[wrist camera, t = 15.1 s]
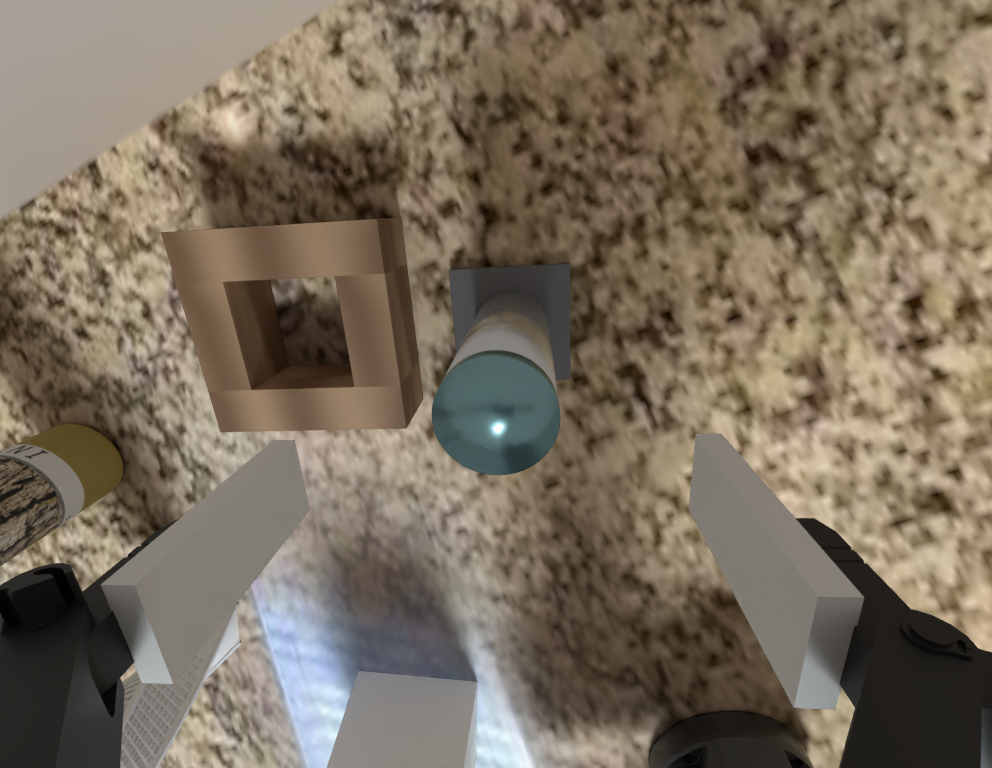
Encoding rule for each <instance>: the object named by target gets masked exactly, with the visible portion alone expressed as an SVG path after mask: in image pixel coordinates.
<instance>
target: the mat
mask: <svg viewBox="0 0 992 768" xmlns="http://www.w3.org/2000/svg"><path fill="white" fill-rule="evenodd" d="M449 275H450V286H451V297H452V308H453V319H454V329H455V340H456V351H457V352H458V350H459V348H460V346H461V344H462V343H463V341H464V339H465V337H466V335H467V333H468V331H469V329H470V327H471V325H472V323H473V322H474V320H475V318H476V316H477V314H478V312H479V310H480V308H481V307H482V305H483V304H484V303H485V302H486V301H487V300H488V299H489V298H490V297H492V296H493V295H495V294H497V293H500V292H504V291H520V292H523V293H526V294H528V295H530V296H532V297H533V298H535V299H536V300H537V301H538V302H539V303H540V304H541V306H542V307H543V309H544V311H545V313H546V316H547V320H548V327H549V334H550V341H551V349H552V356H553V364H554V371H555V379H556V380H558V379H570V263H562V264H542V265H523V266H503V267H484V268H464V269H450V270H449Z"/></svg>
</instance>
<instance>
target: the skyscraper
mask: <svg viewBox="0 0 992 768" xmlns="http://www.w3.org/2000/svg"><path fill="white" fill-rule="evenodd" d="M238 606H239V604H236V605H235V606H234V607H233V609H232V610H231V611H230V612H229V614H228V615H227V616H226V618H225V619H224V620H223V621H222V623H221V624H220V625H219V626H218V628H217V629H216V630H215V632H214V633H213V634H212V635H211V637H210V638H209V639H208V641H207V642H206V643H205V644H204V646H203V647H202V648H201V649H200V651H199V652H198V653H197V655H196V656H195V657H194V658H193V660H192V661H191V662H190V663H189V665H188V666H187V667H186V669H185V670H184V671H183V672H182V674H181V675H180V676H179V678H178V679H177V680H176V681H175V683H174V684H158V683H142V682H141V680H140V677H139V675H138V673H137V671H136V672H135V673H134V674H132V675H131V676H130V677H128V678H127V679H126V680H125V681H123V682H122V683H123V687H124V690H125V693H124V710H123V727H122V743H121V760H120V768H158V767H159V765H160V763H161V761H162V760H163V758H164V756H165V755H166V753H167V751H168V749H169V748H170V746H171V744H172V742H173V740H174V738H175V736H176V735H177V733H178V731H179V729H180V727H181V725H182V724H183V722H184V720H185V718H186V716H187V714H188V712H189V710H190V708H191V706H192V704H193V702H194V700H195V698H196V696H197V694H198V692H199V690H200V688H201V686H202V684H203V682H204V680H205V679H206V678H207V677H208V676H209V675H210V674H211V673H212V672H213V671H214V670H215V669H216V668H217V667H218V666H219V665H220V664H222V663H223V662H224V661H225V660H226V659H227V658H228V657H229V656H230V655H231V654H232V653H233V652H234V651H235V650H236V649H237V648H238V647H239V646H240V645H241V644H240V639H239V627H238V615H237V608H238Z"/></svg>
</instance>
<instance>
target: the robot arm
mask: <svg viewBox="0 0 992 768" xmlns="http://www.w3.org/2000/svg"><path fill="white" fill-rule="evenodd" d="M309 510H310V508H309V503H308V498H307V494H306V489H305V485H304V480H303V476H302V471H301V467H300V462H299V458H298V453H297V449H296V444H295V440H276V441H272V442H271V443H270V444H268V445H267V446H266V447H265V448H264V449H262V450H261V451H260V452H259V453H258V454H256V455H255V456H254V457H253V458H252V459H251V460H249V461H248V462H247V463H246V464H245V465H243V466H242V467H241V468H240V469H239V470H237V471H236V472H235V473H234V474H233V475H231V476H230V477H229V478H228V479H227V480H225V481H224V482H223V483H222V484H221V485H219V486H218V487H217V488H216V489H215V490H213V491H212V492H211V493H210V494H209V495H207V496H206V497H205V498H204V499H203V500H201V501H200V502H199V503H198V504H197V505H195V506H194V507H193V508H192V509H191V510H189V511H188V512H187V513H186V514H185V515H183V516H182V517H181V518H180V519H177V520H176V521H174V522H172V523H170V524H168V525H167V526H165V527H163V528H161V529H159V530H158V531H156V532H155V533H154V534H153V535H151V536H150V537H149V538H148V539H147V540H145V541H144V542H143V543H142V544H141V546H138V547H137V548H135V549H134V550H133V551H132V552H131V553H129V554H128V557H127V558H123V559H122V560H121V561H120V562H118V563H117V564H116V565H115V566H113V567H112V568H111V569H110V570H109V571H107V572H106V573H105V574H104V575H102V576H101V577H100V578H99V579H98V580H96V581H95V582H94V583H93V584H91V585H90V586H89V587H88V588H87V589H85V590H84V591H83V592H82V590H81V588H80V586H79V584H78V581H77V579H76V577H75V575H74V572H73V570H72V568H71V566H70V565H67V564H64V563H57V564H49V565H45V566H41V567H37V568H34V569H32V570H29V571H27V572H24V573H22V574H19V575H18V576H16V577H14V578H12V579H10V580H8V581H7V582H5V583H3V584H2V585H0V768H120V760H121V743H122V727H123V710H124V693H125V690H124V687H123V683H122V681H121V679H120V677H121V676H122V675H123V674H124V673H125V672H126V671H127V669H128V668H129V667H130V666H131V665H132V664H133V663H134V666H135V668H136V670H137V673H138V675H139V677H140V680H141V682H142V683H158V684H174V683H175V681H176V680H177V679H178V678H179V676H180V675H181V674H182V672H183V671H184V670H185V669H186V667H187V666H188V665H189V663H190V662H191V661H192V660H193V658H194V657H195V656H196V655H197V653H198V652H199V651H200V649H201V648H202V647H203V646H204V644H205V643H206V642H207V641H208V639H209V638H210V637H211V635H212V634H213V633H214V632H215V630H216V629H217V628H218V626H219V625H220V624H221V623H222V621H223V620H224V619H225V618H226V616H227V615H228V614H229V612H230V611H231V610H232V609H233V607H234V606H235V605H236V603H237V602H238V601H239V600H240V598H241V597H242V596H243V595H244V593H245V592H246V591H247V589H248V588H249V587H250V586H251V584H252V583H253V582H254V580H255V579H256V578H257V577H258V575H259V574H260V573H261V572H262V570H263V569H264V568H265V566H266V565H267V564H268V563H269V561H270V560H271V559H272V557H273V556H274V555H275V554H276V552H277V551H278V550H279V549H280V547H281V546H282V545H283V543H284V542H285V541H286V540H287V538H288V537H289V536H290V535H291V533H292V532H293V531H294V529H295V528H296V527H297V526H298V524H299V523H300V522H301V520H302V519H303V518H304V517H305V515H306V514H307V513H308V512H309ZM689 511H690V513H691V515H692V517H693V518H694V520H695V522H696V524H697V526H698V528H699V530H700V532H701V534H702V535H703V537H704V539H705V541H706V543H707V545H708V547H709V549H710V551H711V552H712V554H713V556H714V558H715V560H716V562H717V564H718V566H719V568H720V569H721V571H722V573H723V575H724V577H725V579H726V581H727V583H728V585H729V586H730V588H731V590H732V592H733V594H734V596H735V598H736V600H737V602H738V603H739V605H740V607H741V609H742V611H743V613H744V615H745V617H746V619H747V620H748V622H749V624H750V626H751V628H752V630H753V632H754V634H755V636H756V637H757V639H758V641H759V643H760V645H761V647H762V649H763V651H764V653H765V654H766V656H767V658H768V660H769V662H770V664H771V666H772V668H773V670H774V671H775V673H776V675H777V677H778V679H779V681H780V683H781V685H782V687H783V688H784V690H785V692H786V694H787V696H788V698H789V700H790V702H791V704H792V705H793V707H794V708H809V709H836V705H837V701H838V697H839V693H840V690H841V687H842V688H843V690H844V691H845V693H846V694H847V696H848V697H849V699H850V700H851V702H852V704H853V705H854V707H855V711H854V714H853V718H852V722H851V725H850V729H849V732H848V736H847V740H846V743H845V748H844V752H843V755H842V759H841V763H840V766H839V768H992V652H988V651H984V650H981V649H978V648H977V646H976V645H975V644H974V643H973V642H972V641H971V640H970V639H969V638H968V636H966V635H965V634H963V633H962V632H961V631H959V630H958V629H956V628H955V627H954V626H952V625H951V624H949V623H947V622H945V621H943V620H941V619H939V618H937V617H934V616H932V615H929V614H926V613H923V612H920V611H916V610H911V609H910V608H909V607H908V606H907V605H906V604H905V603H904V602H903V601H902V600H901V599H900V598H899V596H898V595H897V594H896V593H895V592H894V591H893V590H892V589H891V588H890V587H889V586H888V585H887V584H886V583H885V582H884V581H883V580H882V579H881V578H880V577H879V576H878V575H877V574H876V573H875V572H874V571H873V570H872V569H871V567H870V566H869V565H868V564H864V560H863V559H862V558H861V557H860V556H859V555H858V554H857V553H856V552H855V551H854V550H851V547H850V546H849V545H848V544H847V543H846V542H845V541H844V540H843V538H842V537H841V536H840V535H839V534H838V533H837V532H836V531H834V530H832V529H831V528H829V527H827V526H826V525H824V524H823V523H821V522H819V521H818V520H816V519H814V518H795V517H794V516H793V515H792V514H791V513H790V512H789V510H788V509H787V508H786V507H785V506H784V505H783V504H782V502H781V501H780V500H779V499H778V498H777V497H776V496H775V494H774V493H773V492H772V491H771V490H770V489H769V488H768V486H767V485H766V484H765V483H764V482H763V481H762V480H761V478H760V477H759V476H758V475H757V474H756V473H755V472H754V470H753V469H752V468H751V467H750V466H749V465H748V463H747V462H746V461H745V460H744V459H743V458H742V457H741V455H740V454H739V453H738V452H737V451H736V450H735V449H734V447H733V446H732V445H731V444H730V443H729V442H728V441H727V439H726V438H725V437H724V436H723V435H722V434H696V438H695V448H694V459H693V470H692V480H691V491H690V501H689ZM649 768H814V767H813V765H812V763H811V761H810V759H809V757H808V755H807V753H806V751H805V749H804V747H803V745H802V743H801V741H800V740H799V739H798V737H797V736H796V735H795V734H794V733H793V732H792V731H791V730H789V729H788V728H787V727H785V726H784V725H782V724H780V723H778V722H776V721H774V720H771V719H769V718H766V717H763V716H759V715H755V714H749V713H741V712H720V713H712V714H706V715H701V716H697V717H694V718H691V719H688V720H686V721H683V722H681V723H679V724H677V725H675V726H674V727H672V728H671V729H669V730H668V731H666V732H665V733H664V734H663V735H662V736H661V737H660V738H659V739H658V740H657V742H656V743H655V744H654V746H653V748H652V750H651V753H650V757H649Z"/></svg>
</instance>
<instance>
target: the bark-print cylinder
mask: <svg viewBox="0 0 992 768" xmlns="http://www.w3.org/2000/svg"><path fill="white" fill-rule="evenodd" d="M122 475H123V462H122V458H121V456H120V454H119V452H118V450H117V449H116V447H115V446H114V445H113V443H112V442H111V441H110V440H109V439H108V438H106V437H105V436H104V435H103V434H101V433H100V432H98V431H96V430H94V429H92V428H90V427H87V426H83V425H77V424H63V425H59V426H56V427H53V428H51V429H49V430H46V431H44V432H42V433H40V434H38V435H36V436H33V437H31V438H29V439H27V440H25V441H22V442H20V443H18V444H16V445H14V446H11V447H8V448H6V449H4V450H2V451H0V566H1V565H3V564H4V563H6V562H7V561H9V560H10V559H12V558H13V557H15V556H16V555H18V554H19V553H21V552H22V551H24V550H25V549H27V548H28V547H30V546H31V545H33V544H34V543H36V542H37V541H38V540H40V539H41V538H43V537H44V536H46V535H47V534H49V533H50V532H52V531H53V530H55V529H56V528H58V527H59V526H61V525H62V524H64V523H65V522H67V521H68V520H70V519H71V518H73V517H74V516H76V515H77V514H78V513H80V512H81V511H83V510H84V509H86V508H87V507H89V506H90V505H92V504H93V503H94V502H96V501H97V500H99V499H100V498H102V497H103V496H105V495H106V494H108V493H109V492H111V491H112V490H114V489H115V488H116V487H117V486H118V485H119V483H120V481H121V479H122Z"/></svg>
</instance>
